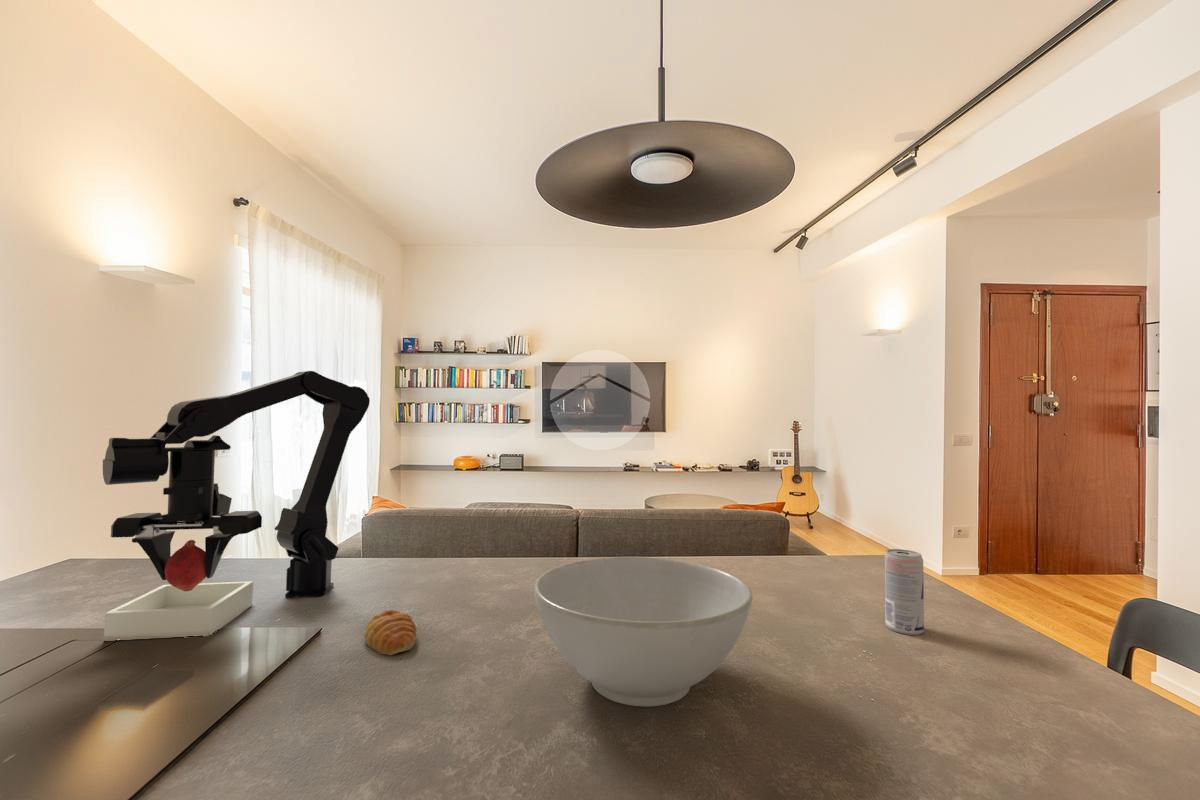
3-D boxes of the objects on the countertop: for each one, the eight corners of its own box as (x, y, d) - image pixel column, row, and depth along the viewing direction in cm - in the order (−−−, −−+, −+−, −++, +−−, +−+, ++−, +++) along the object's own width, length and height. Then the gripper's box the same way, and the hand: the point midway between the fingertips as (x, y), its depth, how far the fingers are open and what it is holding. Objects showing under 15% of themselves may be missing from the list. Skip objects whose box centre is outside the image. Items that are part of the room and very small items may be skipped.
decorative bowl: (547, 635, 80) (548, 554, 81) (726, 640, 79) (726, 558, 80) (512, 741, 54) (515, 619, 54) (782, 750, 53) (782, 626, 53)
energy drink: (921, 626, 86) (920, 551, 87) (926, 638, 81) (925, 558, 82) (884, 620, 88) (883, 547, 89) (886, 632, 83) (885, 554, 84)
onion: (190, 597, 81) (192, 544, 81) (153, 597, 81) (155, 544, 82) (218, 586, 87) (220, 536, 87) (184, 585, 87) (186, 536, 87)
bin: (252, 604, 92) (253, 581, 92) (210, 636, 78) (211, 608, 79) (162, 608, 89) (164, 584, 89) (103, 641, 76) (105, 613, 76)
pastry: (427, 650, 75) (427, 623, 75) (376, 663, 71) (377, 634, 71) (407, 629, 82) (407, 604, 83) (360, 640, 78) (360, 613, 79)
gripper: (276, 473, 95) (273, 562, 94) (157, 474, 91) (153, 567, 90) (247, 480, 84) (244, 581, 83) (110, 482, 80) (105, 587, 80)
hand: (188, 578), depth 84 cm, fingers closed on onion, 6 cm apart
